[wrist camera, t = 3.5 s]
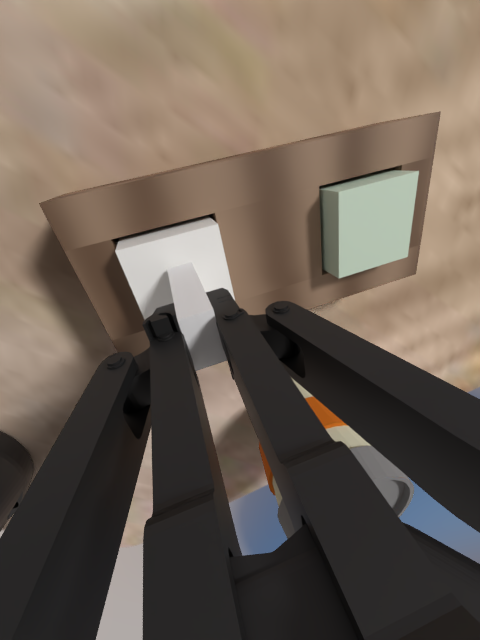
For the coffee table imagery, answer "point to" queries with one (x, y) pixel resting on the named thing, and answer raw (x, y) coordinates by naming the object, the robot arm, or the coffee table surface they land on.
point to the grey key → (172, 260)
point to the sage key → (366, 220)
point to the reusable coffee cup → (375, 464)
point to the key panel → (244, 220)
